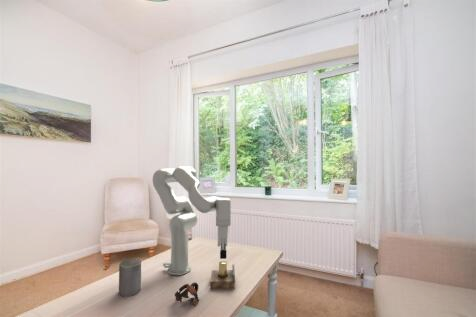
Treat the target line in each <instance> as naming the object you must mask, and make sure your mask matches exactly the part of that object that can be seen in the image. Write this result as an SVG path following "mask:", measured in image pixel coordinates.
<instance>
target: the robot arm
mask: <svg viewBox="0 0 476 317" xmlns="http://www.w3.org/2000/svg"><path fill="white" fill-rule="evenodd" d="M196 176H197V172H196V169H195V168H194V167H192V166H178V167H175V168H174V167H173V168H161V169H158V170H156V171H155V172H154V174H153V175H152V185H153V187H154V189H155V191H156V194H158V197H159V199H160V201H161V203H162V205H163V208H164V210H165V212H166V214H168V215H174V216H173V217H171V219H170V220H169V230H170V262H163V263H162V266H163V267H164V268H165V269H167V273H168V274H169V275H171V276H183V275H186V274H189V272H191V269H192V266H190V264H189V235H188V233H187V230H190V229H191V228H194V227H195V226H196V225H197V224H198V223H197V222H198V217H197V214H196V212H195V210H194V208H195V209H196V210H197V211H199V213H202V214H207V213H211V212H213V211H215V226H216V227H217V247H219V248H220V251H219V259H220V260H222V259H223V260H225V259H227V246H228V241H229V227H230V226H231V222H232V221H231V217H232V216H231V214H232V213H231V212H232V211H231V208H232V206H231V205H232V204H231V203H232V202H231V199H230V198H229V197H220V196H219V197H218V196H212V195H211V196H209V197H208V196H207V197H204V196H203V195H202V194H201V193H200V192H199V190H198V189H199V188H200V185H201V182H200V180H199V179H197V177H196ZM168 183H170V184H171V183H178V184H179V185H180V186H181V187H182V188H183V189H184V190H185V191H186V192H187V195H188V198H187V197H186V196H182V195H181V196H177V195H176V193H175V191H174V189H173V188H172V187H171V186H170V185H169V184H168Z"/></svg>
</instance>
